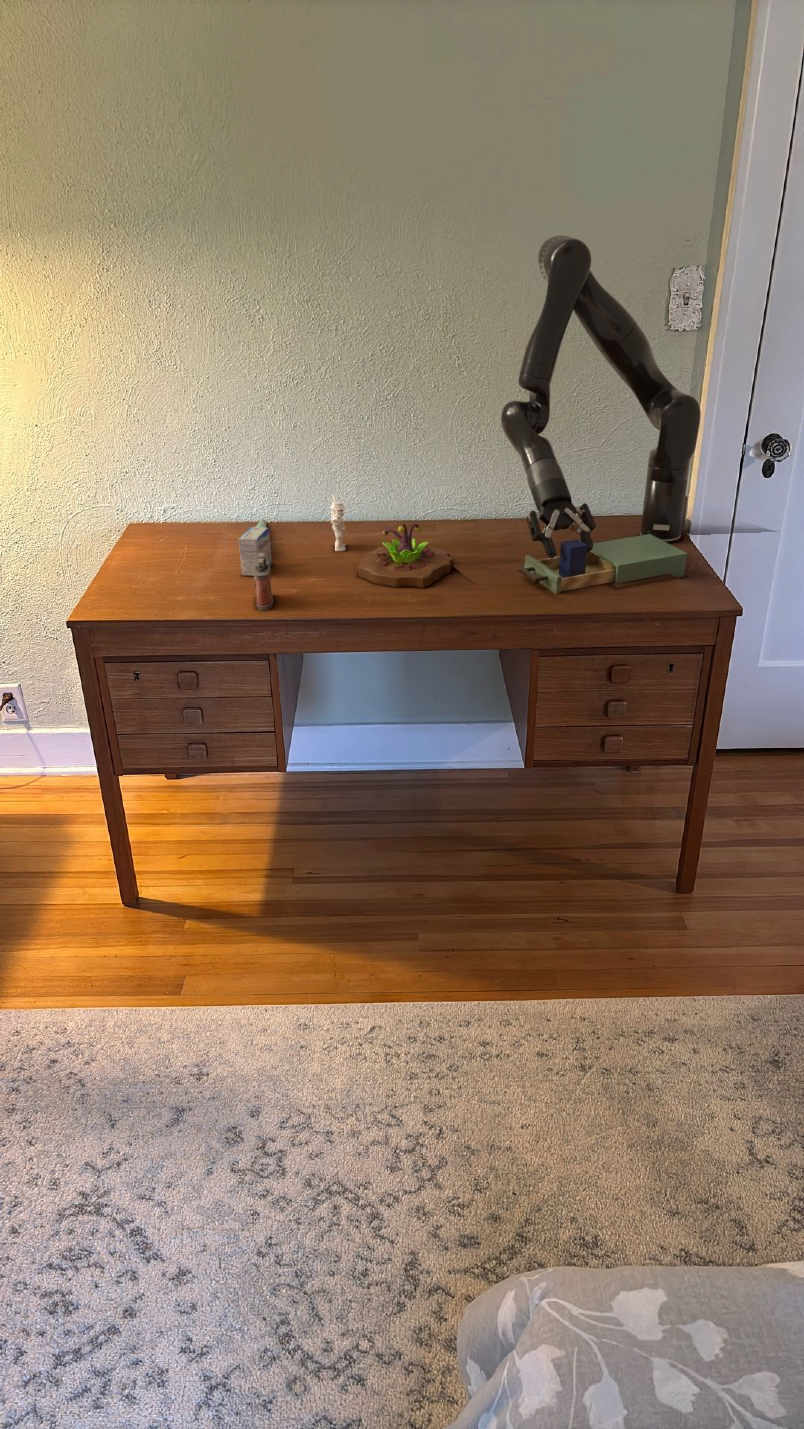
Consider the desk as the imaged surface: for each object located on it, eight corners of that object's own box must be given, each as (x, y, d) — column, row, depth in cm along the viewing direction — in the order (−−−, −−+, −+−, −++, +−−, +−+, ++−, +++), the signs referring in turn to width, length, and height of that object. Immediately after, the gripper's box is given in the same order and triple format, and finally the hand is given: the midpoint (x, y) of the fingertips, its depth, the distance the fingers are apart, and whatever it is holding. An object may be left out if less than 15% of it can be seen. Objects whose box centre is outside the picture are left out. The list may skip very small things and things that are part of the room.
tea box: (568, 581, 204) (570, 547, 201) (558, 575, 208) (560, 541, 204) (584, 578, 206) (587, 545, 202) (574, 572, 209) (577, 539, 205)
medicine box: (261, 577, 213) (257, 539, 208) (241, 576, 213) (237, 537, 209) (272, 564, 219) (269, 527, 215) (253, 563, 220) (250, 526, 216)
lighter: (257, 595, 204) (253, 549, 199) (273, 594, 204) (269, 548, 199) (255, 610, 197) (251, 563, 192) (272, 609, 197) (268, 562, 192)
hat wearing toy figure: (332, 542, 232) (329, 492, 226) (348, 541, 232) (346, 491, 226) (330, 555, 224) (327, 504, 218) (347, 554, 224) (345, 503, 218)
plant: (345, 581, 210) (342, 530, 204) (378, 551, 226) (377, 503, 220) (433, 592, 204) (433, 540, 198) (461, 560, 220) (462, 512, 214)
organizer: (615, 588, 204) (618, 565, 201) (581, 567, 215) (583, 544, 212) (684, 576, 209) (687, 553, 207) (647, 556, 220) (650, 533, 218)
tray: (541, 599, 198) (543, 579, 196) (510, 577, 209) (511, 557, 207) (628, 583, 205) (630, 564, 202) (593, 562, 216) (595, 543, 213)
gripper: (524, 480, 202) (548, 550, 199) (584, 472, 207) (609, 541, 203) (511, 498, 209) (534, 566, 205) (569, 490, 214) (593, 557, 210)
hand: (571, 553), depth 204 cm, fingers open, 8 cm apart
